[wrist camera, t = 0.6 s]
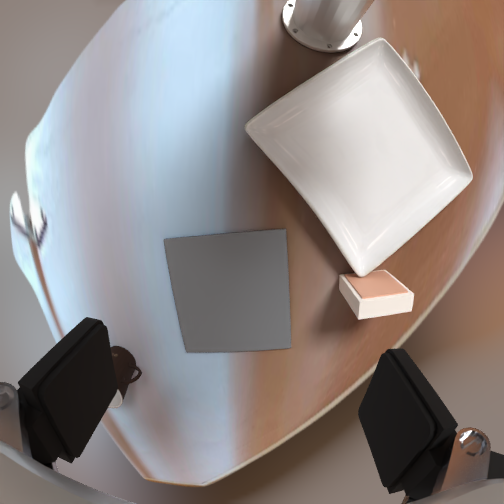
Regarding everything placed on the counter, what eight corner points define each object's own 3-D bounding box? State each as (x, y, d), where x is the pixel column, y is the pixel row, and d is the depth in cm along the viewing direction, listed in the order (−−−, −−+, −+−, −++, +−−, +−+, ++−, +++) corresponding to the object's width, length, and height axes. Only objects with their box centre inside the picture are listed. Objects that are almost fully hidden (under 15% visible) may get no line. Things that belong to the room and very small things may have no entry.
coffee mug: (107, 370, 49) (86, 400, 40) (99, 337, 47) (74, 366, 37) (157, 382, 49) (142, 417, 39) (153, 348, 47) (133, 382, 37)
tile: (339, 273, 42) (359, 300, 32) (385, 268, 42) (414, 292, 32) (339, 289, 43) (358, 319, 33) (384, 284, 42) (411, 310, 33)
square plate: (374, 43, 32) (382, 33, 28) (463, 177, 37) (476, 178, 34) (242, 130, 37) (240, 125, 33) (353, 273, 42) (361, 282, 39)
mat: (165, 238, 41) (163, 239, 41) (285, 228, 40) (285, 229, 40) (187, 350, 47) (186, 352, 46) (290, 345, 46) (291, 347, 45)
